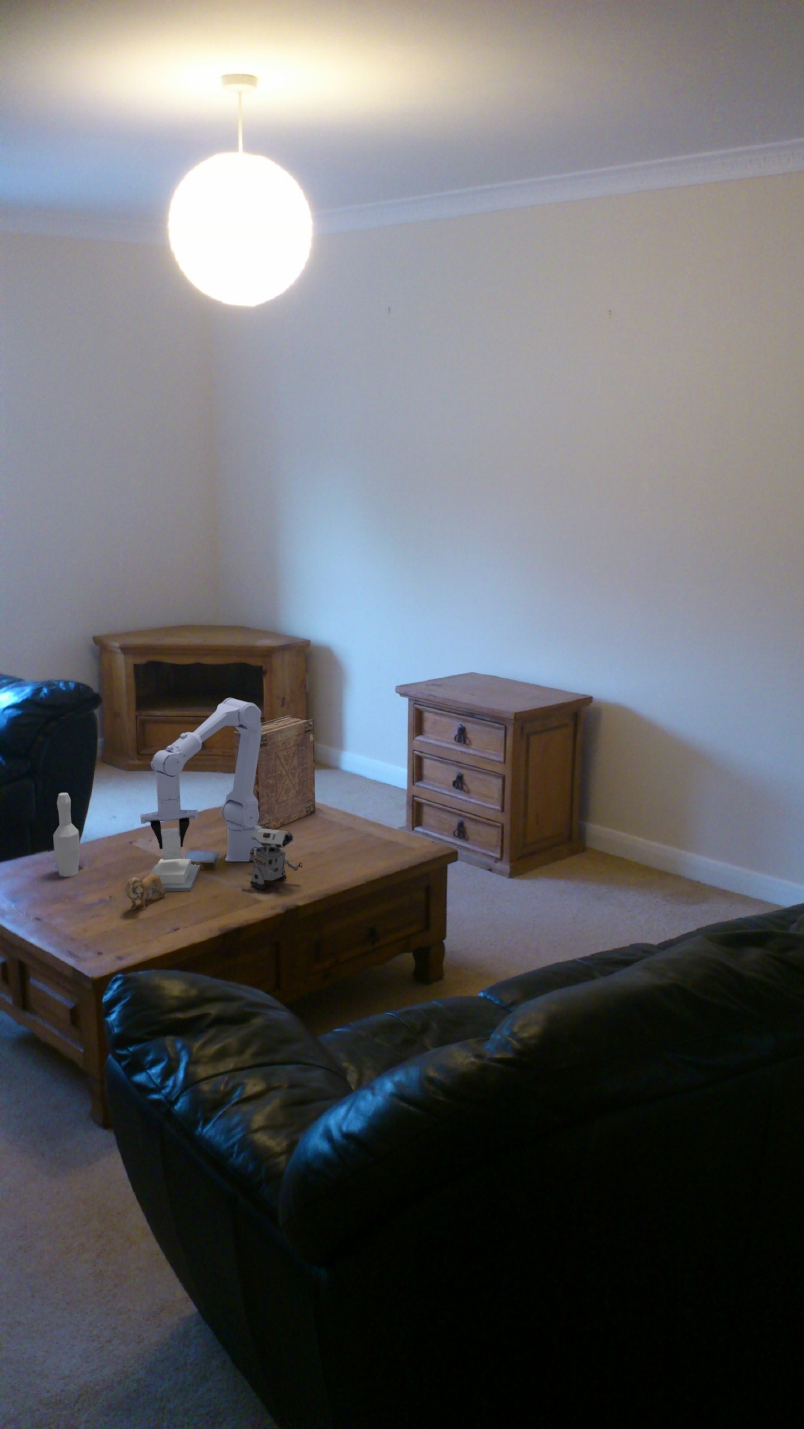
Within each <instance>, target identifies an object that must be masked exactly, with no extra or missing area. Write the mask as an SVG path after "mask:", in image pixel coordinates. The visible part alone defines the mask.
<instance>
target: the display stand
mask: <svg viewBox="0 0 804 1429" xmlns="http://www.w3.org/2000/svg"><path fill="white" fill-rule="evenodd" d="M200 869H201V864H200V865H196V864H195V863H194V865H193V863H192V859H191V858H181V859H172V860H163V858H160V860H158V862H157V864H156V863H155V864H154V865H153V868H152V870H151V871H150V873H149V875H151V874H157V875H158V876H159V877H160V879H161V883H162V887H163V888H164V889H165V892H191V890H192V888H193V887H194V884H195V881H196V879H197V876H198V874H199V872H200ZM152 891H153V892H160V891H159V890H158V889H157V888H155V887H154V886H153V888H152Z"/></svg>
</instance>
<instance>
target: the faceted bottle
mask: <svg viewBox="0 0 804 1429" xmlns="http://www.w3.org/2000/svg"><path fill="white" fill-rule="evenodd" d="M71 802H72V801H71V796H70V795H69V793H68V792H60V793H58V796H57V801H56V805H57V810H58V819H59V820H58V822H59V825H58V827H57V828H56V830H55V832H53V834H52V836H53V850H54V855H55V859H56V865H57V870H58V875H59V876H60V877H65V878H67V877H68V878H69V877H73V876H76V875H78V873H79V862H80V849H81V848H80V846H81V845H80V844H81V843H80V831H79V829H78V828H76V827H75V825H74V824H73V823H72V817H71V816H72V815H71V809H72V808H71V807H72V806H71V805H72V803H71Z"/></svg>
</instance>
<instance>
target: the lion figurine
mask: <svg viewBox="0 0 804 1429" xmlns="http://www.w3.org/2000/svg"><path fill="white" fill-rule="evenodd" d="M153 886H154V887H155V888H157V889H158V890H159V891H158V892H159V893H161V895H160V898H162V899H165V898H166V897H167V896H166V891H165V889H164V888H163V887H162V883H161V879H160V877H159V876H158V875H157V874H151V875H150V874H149V875H146V876H145V877H144V878H143V879H140V878H139V877H136V876H134V877H130V878H128V879H127V881H126V883H125V893H126V896H127V898H128V899H129V900H130V901H131V904H132V905H131V906H130V908H129V909H130V910H135V909H136V906H137V903H136V901H138V900H140V910H141V911H146V903H145V902H146V900H147V901H148V900H150V899H151V897H152V895H153V893H154V891H152V888H153ZM146 894H147V896H146Z"/></svg>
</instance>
